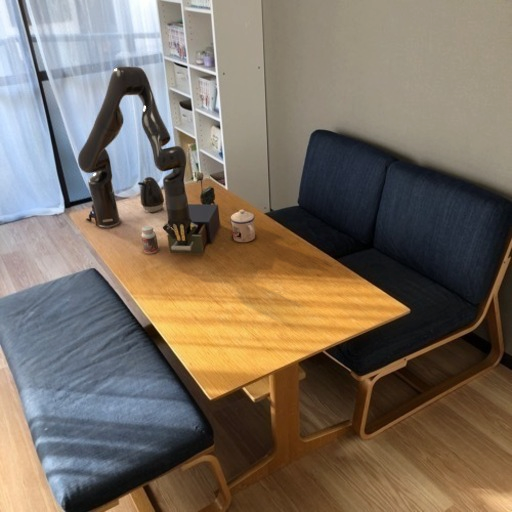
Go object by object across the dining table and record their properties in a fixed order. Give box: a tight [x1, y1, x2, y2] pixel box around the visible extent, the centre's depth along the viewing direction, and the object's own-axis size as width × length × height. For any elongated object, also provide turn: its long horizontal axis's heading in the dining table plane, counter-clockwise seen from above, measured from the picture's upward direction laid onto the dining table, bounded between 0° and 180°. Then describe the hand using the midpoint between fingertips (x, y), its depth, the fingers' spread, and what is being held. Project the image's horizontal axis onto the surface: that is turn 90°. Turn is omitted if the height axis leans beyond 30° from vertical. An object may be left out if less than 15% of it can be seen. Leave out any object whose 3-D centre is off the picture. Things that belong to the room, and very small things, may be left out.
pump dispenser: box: [137, 176, 165, 213], centre depth 224 cm, size 10×10×15 cm
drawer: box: [166, 224, 208, 255], centre depth 191 cm, size 20×13×7 cm, turn 171°
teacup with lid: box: [230, 209, 256, 243], centre depth 195 cm, size 12×9×12 cm
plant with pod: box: [195, 171, 216, 205], centre depth 216 cm, size 8×11×20 cm
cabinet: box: [188, 203, 221, 245], centre depth 202 cm, size 16×14×9 cm
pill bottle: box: [141, 225, 159, 255], centre depth 192 cm, size 5×5×10 cm
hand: (183, 248), depth 185 cm, fingers closed
